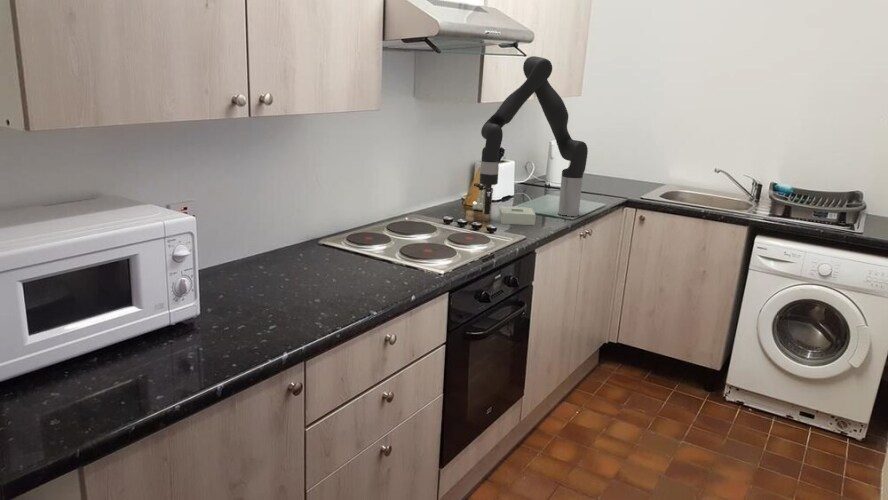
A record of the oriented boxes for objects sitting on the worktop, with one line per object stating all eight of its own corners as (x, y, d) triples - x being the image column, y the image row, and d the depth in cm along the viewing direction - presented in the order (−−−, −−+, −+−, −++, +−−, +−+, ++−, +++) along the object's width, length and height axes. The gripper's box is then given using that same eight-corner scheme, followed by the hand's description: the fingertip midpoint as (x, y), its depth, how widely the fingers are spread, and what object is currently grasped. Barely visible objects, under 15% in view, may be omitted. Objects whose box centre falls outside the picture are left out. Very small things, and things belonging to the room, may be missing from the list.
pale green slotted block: (499, 216, 283) (499, 206, 282) (531, 218, 283) (532, 207, 281) (501, 223, 269) (501, 212, 268) (534, 225, 269) (535, 214, 268)
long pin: (481, 219, 276) (483, 196, 273) (490, 219, 276) (491, 196, 273) (482, 221, 272) (483, 197, 270) (490, 221, 272) (492, 197, 270)
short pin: (465, 219, 274) (465, 210, 273) (473, 219, 274) (474, 210, 273) (465, 221, 271) (466, 211, 269) (473, 221, 271) (474, 212, 269)
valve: (487, 212, 290) (489, 185, 287) (472, 211, 290) (474, 185, 287) (486, 209, 297) (488, 183, 294) (472, 208, 297) (473, 182, 293)
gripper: (499, 175, 262) (496, 217, 266) (497, 170, 276) (494, 210, 280) (480, 174, 262) (478, 216, 266) (479, 169, 276) (477, 209, 280)
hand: (486, 212), depth 273 cm, fingers open, 4 cm apart
